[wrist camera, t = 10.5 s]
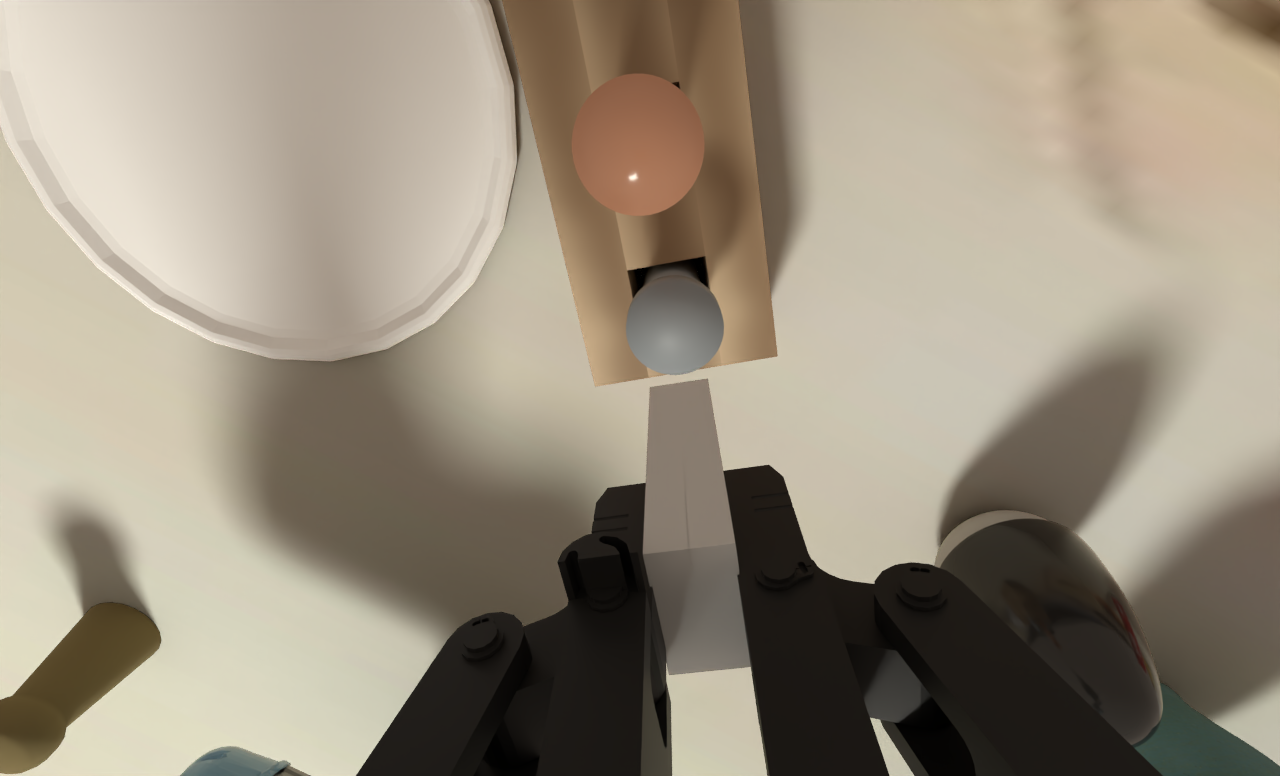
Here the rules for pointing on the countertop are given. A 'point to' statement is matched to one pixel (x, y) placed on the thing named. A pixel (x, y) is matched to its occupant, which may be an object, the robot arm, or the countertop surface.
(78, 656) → the cork
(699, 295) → the plunger
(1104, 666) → the pump dispenser
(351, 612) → the countertop surface
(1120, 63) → the countertop surface
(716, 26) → the oak block
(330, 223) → the plate
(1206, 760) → the flower pot
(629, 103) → the plunger mid
